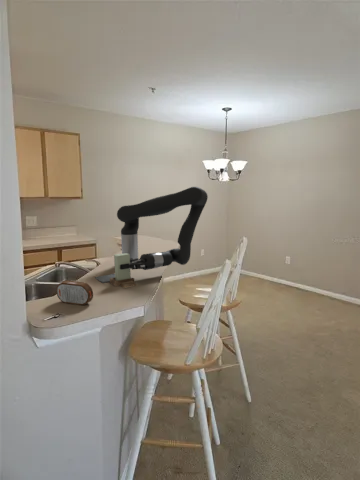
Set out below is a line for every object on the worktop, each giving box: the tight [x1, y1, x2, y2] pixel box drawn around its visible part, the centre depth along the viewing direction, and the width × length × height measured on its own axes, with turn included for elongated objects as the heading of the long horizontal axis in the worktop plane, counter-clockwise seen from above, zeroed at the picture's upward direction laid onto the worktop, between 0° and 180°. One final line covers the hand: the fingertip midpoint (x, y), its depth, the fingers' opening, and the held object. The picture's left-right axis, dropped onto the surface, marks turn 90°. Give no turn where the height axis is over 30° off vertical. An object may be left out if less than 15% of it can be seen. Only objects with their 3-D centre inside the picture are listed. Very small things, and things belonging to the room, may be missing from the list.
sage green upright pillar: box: [113, 253, 132, 281], centre depth 144 cm, size 4×6×13 cm, turn 124°
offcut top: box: [121, 281, 136, 288], centre depth 140 cm, size 3×5×1 cm, turn 131°
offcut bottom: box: [120, 283, 137, 289], centre depth 140 cm, size 4×6×1 cm, turn 124°
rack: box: [109, 277, 135, 287], centre depth 145 cm, size 7×9×2 cm
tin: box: [55, 279, 94, 306], centre depth 119 cm, size 15×3×8 cm, turn 71°
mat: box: [95, 273, 115, 284], centre depth 152 cm, size 10×14×1 cm
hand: (118, 266), depth 143 cm, fingers closed on sage green upright pillar, 3 cm apart
